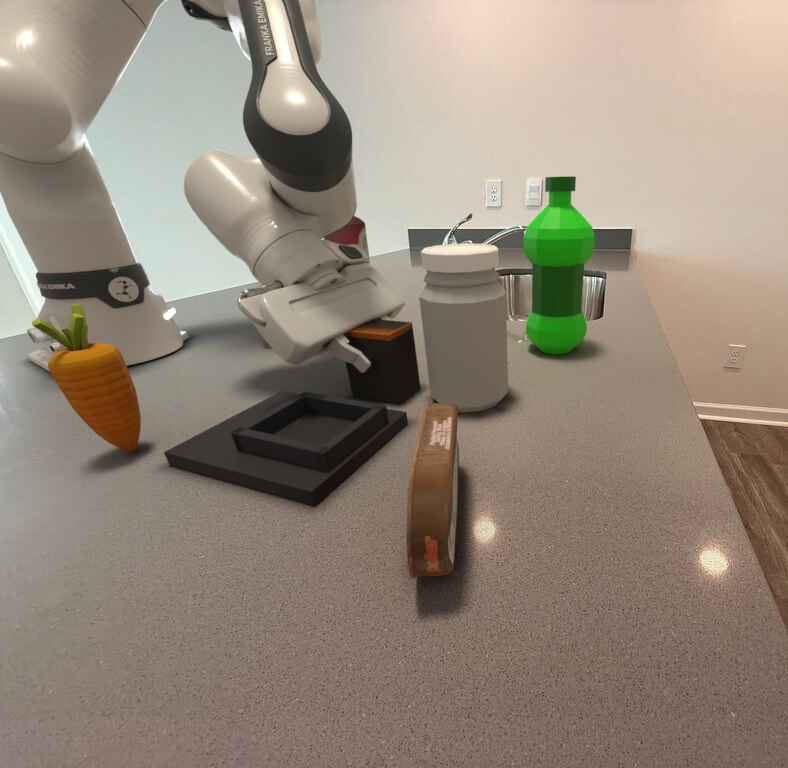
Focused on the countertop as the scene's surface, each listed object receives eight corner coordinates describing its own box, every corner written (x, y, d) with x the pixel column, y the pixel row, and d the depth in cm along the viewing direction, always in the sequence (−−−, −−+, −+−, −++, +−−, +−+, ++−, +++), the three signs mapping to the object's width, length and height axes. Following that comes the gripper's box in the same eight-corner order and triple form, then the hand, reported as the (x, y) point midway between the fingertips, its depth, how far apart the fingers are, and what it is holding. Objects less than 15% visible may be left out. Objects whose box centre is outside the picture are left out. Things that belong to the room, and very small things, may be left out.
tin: (432, 463, 39) (422, 384, 35) (465, 461, 39) (459, 382, 35) (410, 609, 25) (390, 505, 22) (461, 605, 25) (450, 500, 22)
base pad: (169, 465, 39) (154, 434, 38) (285, 400, 51) (278, 375, 50) (315, 505, 34) (305, 471, 32) (408, 423, 46) (403, 395, 44)
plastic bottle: (548, 365, 60) (553, 175, 49) (512, 345, 68) (509, 178, 57) (600, 352, 64) (614, 175, 54) (560, 334, 73) (566, 178, 62)
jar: (425, 387, 54) (408, 245, 46) (495, 376, 57) (489, 240, 49) (439, 423, 46) (420, 257, 38) (520, 407, 49) (518, 250, 41)
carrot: (110, 471, 39) (26, 318, 32) (92, 456, 41) (10, 311, 35) (171, 446, 42) (106, 304, 36) (151, 433, 45) (87, 298, 38)
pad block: (352, 397, 52) (338, 329, 48) (376, 381, 56) (364, 318, 52) (400, 404, 50) (388, 334, 46) (420, 387, 54) (412, 322, 50)
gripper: (236, 272, 39) (340, 376, 40) (368, 246, 56) (438, 319, 58) (217, 314, 42) (314, 409, 43) (347, 277, 60) (414, 346, 61)
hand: (385, 357), depth 51 cm, fingers closed on pad block, 5 cm apart
